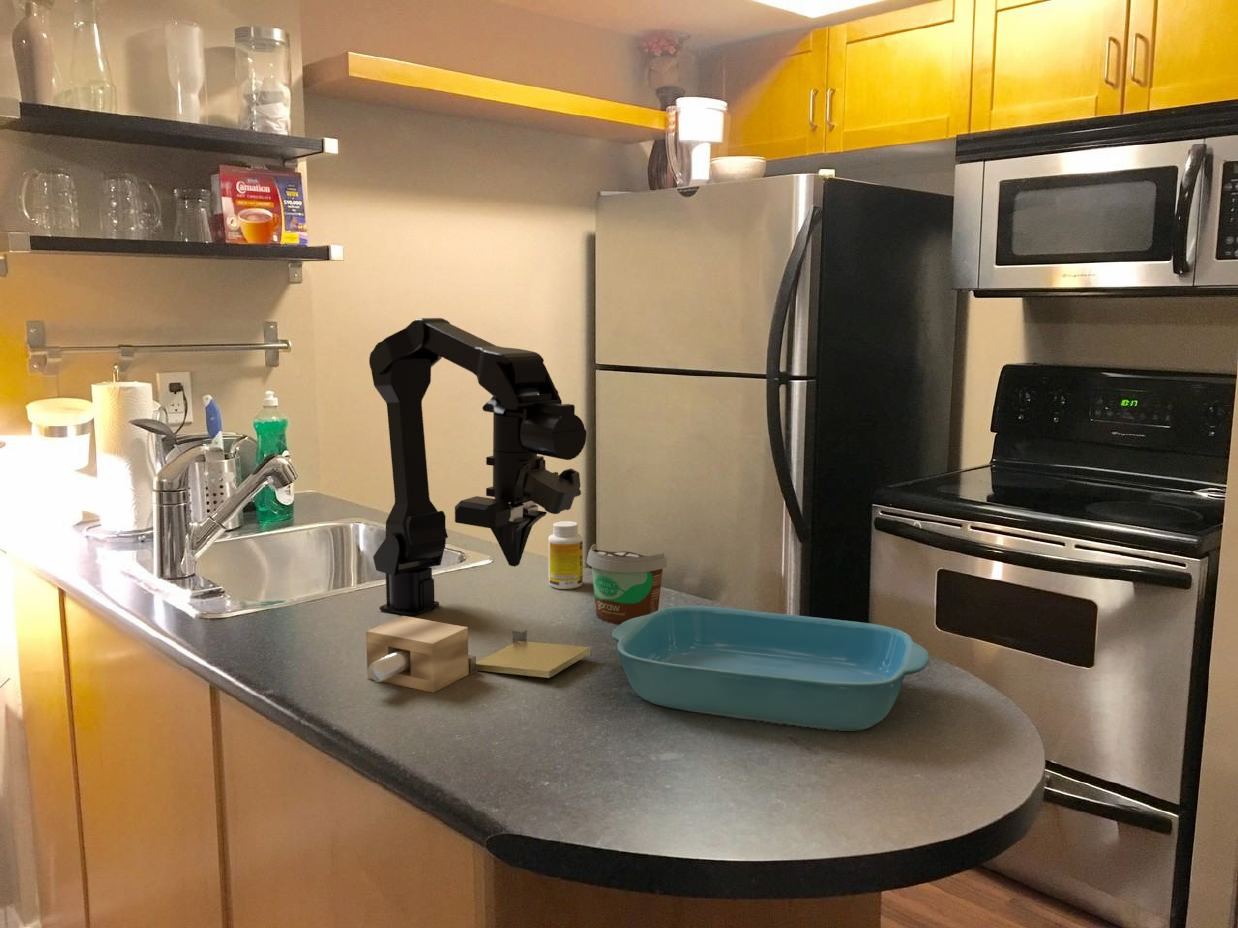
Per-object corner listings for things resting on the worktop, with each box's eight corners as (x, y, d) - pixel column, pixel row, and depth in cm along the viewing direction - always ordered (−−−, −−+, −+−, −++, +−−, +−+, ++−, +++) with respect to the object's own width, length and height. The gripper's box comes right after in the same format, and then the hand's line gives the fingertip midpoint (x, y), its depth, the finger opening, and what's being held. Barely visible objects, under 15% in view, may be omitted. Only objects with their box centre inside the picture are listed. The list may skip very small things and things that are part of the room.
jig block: (367, 678, 128) (365, 630, 127) (404, 660, 135) (403, 615, 134) (433, 692, 124) (432, 643, 123) (468, 674, 130) (467, 627, 129)
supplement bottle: (585, 589, 168) (585, 526, 166) (551, 591, 167) (550, 528, 165) (579, 580, 173) (579, 519, 172) (545, 581, 172) (545, 520, 170)
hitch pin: (362, 686, 124) (361, 650, 123) (431, 653, 135) (430, 620, 134) (392, 693, 122) (391, 656, 121) (459, 659, 133) (458, 625, 132)
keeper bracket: (461, 671, 131) (460, 656, 130) (516, 642, 142) (516, 628, 141) (471, 673, 130) (471, 658, 130) (526, 644, 141) (526, 630, 141)
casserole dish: (582, 708, 120) (582, 648, 119) (646, 647, 141) (647, 596, 140) (917, 758, 107) (920, 691, 106) (933, 683, 128) (936, 627, 127)
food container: (571, 619, 152) (571, 551, 151) (592, 608, 158) (592, 543, 156) (647, 632, 147) (648, 562, 145) (666, 620, 152) (667, 552, 150)
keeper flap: (474, 669, 131) (473, 663, 131) (518, 646, 140) (517, 640, 140) (549, 677, 126) (549, 671, 126) (590, 653, 135) (589, 647, 135)
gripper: (528, 466, 125) (526, 593, 127) (604, 446, 141) (601, 558, 144) (451, 456, 130) (452, 578, 133) (534, 438, 146) (532, 547, 149)
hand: (514, 565), depth 139 cm, fingers closed
